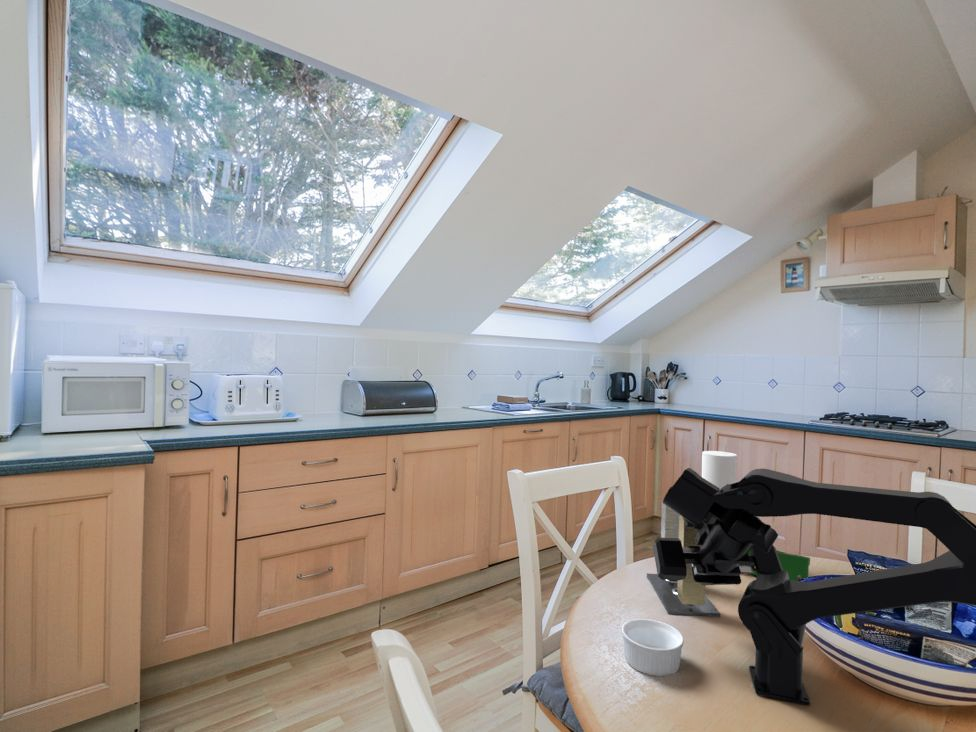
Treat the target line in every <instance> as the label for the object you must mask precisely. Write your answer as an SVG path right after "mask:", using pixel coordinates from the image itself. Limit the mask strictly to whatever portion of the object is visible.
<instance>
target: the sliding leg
mask: <svg viewBox="0 0 976 732" xmlns="http://www.w3.org/2000/svg"><path fill="white" fill-rule="evenodd" d="M697 533H698V532H697V530H696V529H694V528H693V527H686V525H685V523H684V520H683V517H682V516H679V539H680V540H681V543H682V547H686V548H688V547H689V546H700V545H697V543H696V539H695V537H696V535H697ZM686 567H687V574H686V578H685V579H682V580H679V581H677V597H678V599H679V600H680V602H681V603H682V604H688V605H690V606H693V605H705V595H706V585H701V583H697V582H695V581H694V580H693V576H692V571H691V567H690V564H687V563H686Z"/></svg>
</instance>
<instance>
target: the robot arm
mask: <svg viewBox="0 0 976 732" xmlns="http://www.w3.org/2000/svg"><path fill="white" fill-rule="evenodd" d="M663 504H665V505H666V506H668V507H669V508H671V509H672V510H673V511H675V512H676V513H678V514H679V515H681V516H682V517H683V520H684V523H685V525H686V527H693V528H694V529H696V530H697V532H698V533H697V535H696V537H695V539H696V543H697V545H700V546H689V547H688V548H686V547H682V543H681V540H680V539H679V538H661V537H657V538H656V539H655V540H654V542H653V544H652V550H653V555H654V562H655V567H656V574H658V577H659V578H661V579H662V580H676V581H679V580H682V579H685V578H686V574H687V567H686V563H687V564H690V567H691V571H692V576H693V580H694V581H695V582H697V583H701V585H705V586H720V585H721V586H722V585H725V586H730V585H736V586H737V585H740V584H741V583H742V578H741V574H742V573H749V572H750V573H754V572H755V570H756V571H757V575H758V576H756V577H755V580H751V582H749V583H748V584H747V587H746V588H745V591H744V592H743V594H742V597H741V598H740V601H739V603H738V604H737V614H738V617H739V619H740V621H741V623H742V624H743V626H745V628H746V629H747V630H748V631H749V632H750V633H749V634H751V638H752V641H753V645H754V646H755V657H754V659H755V663H754V665H749V666H748V671H749V675H750V679H751V682H752V685H753V689H754V692H755V694H756V695H759V696H763V697H769V698H772V699H778V700H782V701H787V702H793V703H796V704H800V705H801V704H802V705H806V706H809V705H811V699H810V697H809V694H808V692H807V689H806V687H805V686H804V682H803V670H804V669H803V665H804V663H803V662H804V647H803V643H804V638H805V631H806V628H807V627H806V625H807V624H809V623H811V622H812V621H814V620H817V619H823V618H829V617H836V616H845V615H852V614H860V613H868V612H875V611H882V610H889V609H897V608H906V607H907V608H908V607H913V606H920V605H928V604H937V603H945V602H947V603H956V604H960V605H961V604H962V605H968V606H973V607H976V524H975V523H974V522H973V521H971V520H970V519H969V517H966V516H965V515H964V514H963V513H962V512H960V511H959V510H958V509H956V508H955V507H954V506H953V505H952V503H950V501H949V500H948V499H947V498H946V497H945V496H943V495H942V494H939V493H937V492H934V491H919V492H916V491H908V490H907V491H905V490H897V489H886V488H877V487H876V488H875V487H866V486H855V485H845V484H844V485H843V484H834V483H824V482H823V483H822V482H816V481H815V482H814V481H812V480H807V479H804V478H800V477H798V476H795V475H792V474H788V473H785V472H781V471H776V470H774V469H773V470H772V469H768V468H755V469H753V470H751V471H749V472H748V473H747V474H746V475H745V476H743V477H742V479H740V480H738V481H736V483H733V484H727V485H726V486H723V487H722V488H721V489H720V488H718V487H717V486H715V485H713V484H712V483H710V482H709V481H707V480H705V479H704V478H702V475H700V474H699V473H698V472H696V470H694V469H692V468H690V467H688V468H686V469H684V470H683V472H682V474H681V475H680V476H679V477H678V479H677V480H676V481H675V482H674V484H673V485H672V486H670V487H669V489H668V491H666V494H665V496H664V497H663ZM813 514H814V515H820V516H829V517H838V518H844V519H845V518H846V519H854V520H860V521H868V522H869V521H870V522H877V523H885V524H891V525H899V526H900V525H901V526H909V527H914V528H915V527H916V528H923V529H925V530H927V531H928V532H930V533H931V534H932V535H933V536H934V537H935V538H936V539H937V540H938V541H939V542H941V544H942V545H944V546H945V547H946V548H947V550H948V551H946V552H944V553H942V554H940V555H939V556H937V557H935V558H933V559H931V560H928V561H925V562H921V563H915V564H910V565H909V564H908V565H903V566H898V567H891V568H886V569H879V570H874V571H873V570H872V571H867V572H861V573H856V574H848V575H843V576H842V575H841V576H838V577H831V578H825V579H818V580H813V581H808V582H800V581H801V580H800V581H794V580H790V579H789V575H788V572H787V570H783V568H782V565H781V562H780V559H779V556H778V554H777V552H778V551H777V548H776V547H775V546H774V544H775V542H776V540H777V538H778V537H779V534H778V532H777V531H776V529H774V528H772V526H771V524H767V523H765V522H764V521H762V519H760V518H766V517H767V518H771V517H772V518H773V517H790V516H799V515H813ZM749 550H750V552H751V555H752V556H748V552H749ZM750 573H749V574H750Z"/></svg>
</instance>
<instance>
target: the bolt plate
mask: <svg viewBox="0 0 976 732" xmlns="http://www.w3.org/2000/svg"><path fill="white" fill-rule="evenodd" d="M663 499H664V498H663ZM663 499H661V517H660V518H661V519H660V520H661V521H660V523H661V525H660V538H679V516H681V515H679V514H678V513H676V512H675V511H673V510H672V509H671V508H669V507H668V506H666V505H665V504H663ZM646 579H648V581H649V583H650V585H651V586H652V587H651V588H653V590H654V592H655V594H656V595H657V597H658V598H659V600H660V602H661V604H662V605H663V608H664V609H665V611H666V613H667V614H668V615H684V616H699V617H716V618H718V617H719V618H720V617H721V613H720V611H719V610H718V608H717V607H715V605H714V604H713V602H712V601H711V599H709V597H708V596H707V595H706V594H705V605H693V606H690V605H688V604H682V603H681V602H680V600H679V599H678V597H677V581H676V580H662V579H661V578H659V577H658V574H657V573H646Z"/></svg>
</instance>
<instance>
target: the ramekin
mask: <svg viewBox="0 0 976 732" xmlns="http://www.w3.org/2000/svg"><path fill="white" fill-rule="evenodd" d="M621 634H622V641H623V645H622V646H623V655H624V659H625V661H626V662H627V664H628V665H630V666H631V667H632V668H633V669H635V670H636V671H638V672H640V673H642V672H643V674H645V673H646V674H645V675H648V674H649V675H650V676H654V677H665V676H666V677H667V676H671V675H673V674H675V673H676V672H677V671H678V670H679V668H680V666H681V665H680V664H681V658H682V657H681V656H682V649H683V646H684V642H685V640H684V639H685V638H684V636H683V634H682V633H681V632H680V631H679V630H678V629H677V628H675V627H673V626H671V625H670V624H668V623H665V622H663V621H659V620H654V619H650V618H649V619H648V618H634V619H630V620H628V621H625V622H624V623H623V625H622V626H621ZM649 675H648V676H649Z"/></svg>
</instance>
